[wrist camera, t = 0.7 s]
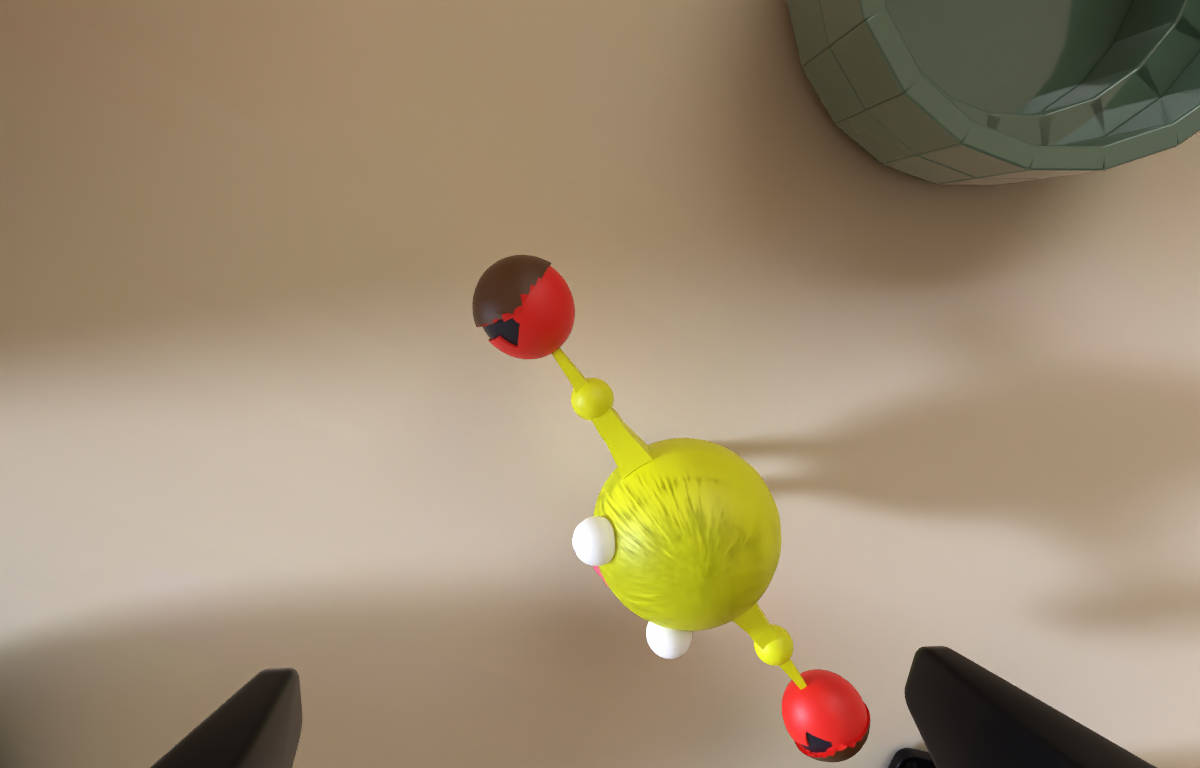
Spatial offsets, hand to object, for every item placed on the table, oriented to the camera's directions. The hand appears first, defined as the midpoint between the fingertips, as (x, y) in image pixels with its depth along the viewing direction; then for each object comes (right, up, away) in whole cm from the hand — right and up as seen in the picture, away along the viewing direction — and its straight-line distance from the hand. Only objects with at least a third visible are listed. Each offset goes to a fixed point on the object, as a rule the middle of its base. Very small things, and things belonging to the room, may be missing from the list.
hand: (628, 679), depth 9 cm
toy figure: (+2, +1, +13) cm, 13 cm away
